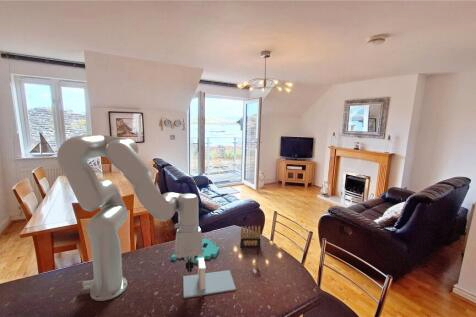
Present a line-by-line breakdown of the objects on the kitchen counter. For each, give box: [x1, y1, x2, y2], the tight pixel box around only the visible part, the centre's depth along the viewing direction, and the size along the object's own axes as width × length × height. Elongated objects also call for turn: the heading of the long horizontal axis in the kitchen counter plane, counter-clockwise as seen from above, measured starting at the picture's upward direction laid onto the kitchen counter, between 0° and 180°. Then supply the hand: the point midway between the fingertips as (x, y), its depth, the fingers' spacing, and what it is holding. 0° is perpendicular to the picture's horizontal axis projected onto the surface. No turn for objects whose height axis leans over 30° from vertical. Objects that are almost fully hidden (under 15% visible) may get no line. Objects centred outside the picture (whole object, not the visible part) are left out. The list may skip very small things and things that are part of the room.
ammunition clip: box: [239, 225, 261, 249], centre depth 123 cm, size 11×2×12 cm, turn 94°
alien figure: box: [170, 238, 220, 265], centre depth 118 cm, size 20×2×20 cm
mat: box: [182, 269, 237, 299], centre depth 94 cm, size 20×12×1 cm, turn 104°
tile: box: [197, 258, 207, 290], centre depth 93 cm, size 2×7×9 cm, turn 14°
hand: (189, 269), depth 92 cm, fingers closed
